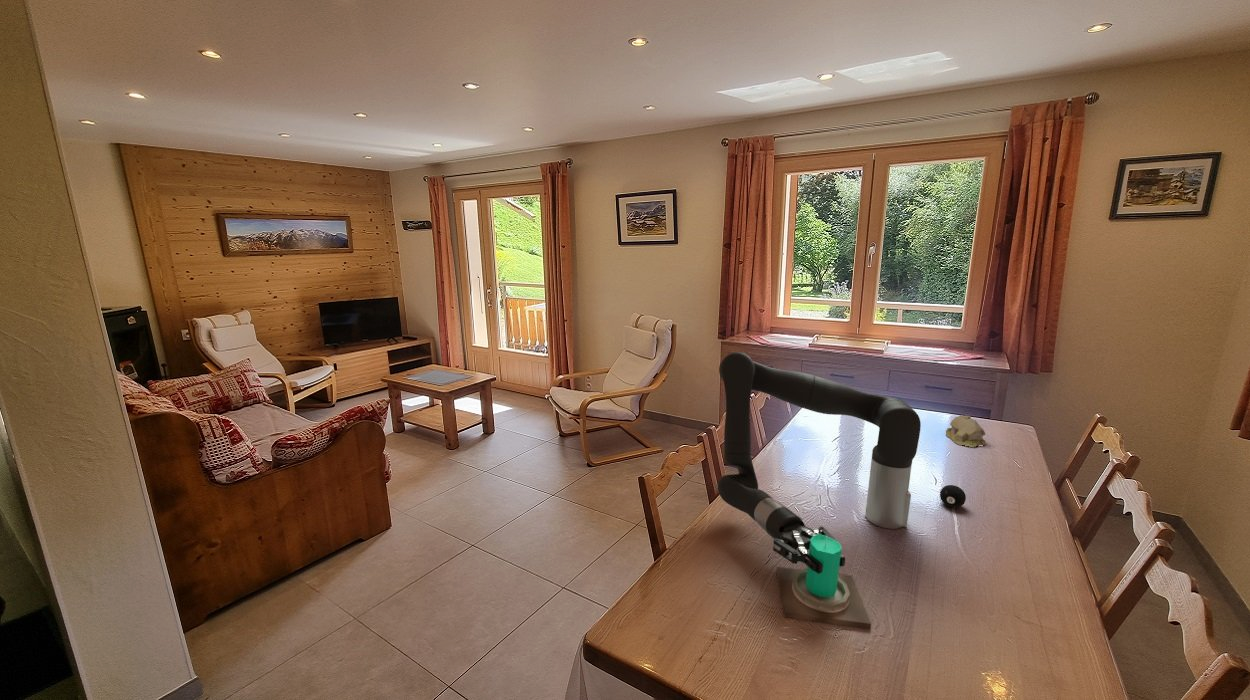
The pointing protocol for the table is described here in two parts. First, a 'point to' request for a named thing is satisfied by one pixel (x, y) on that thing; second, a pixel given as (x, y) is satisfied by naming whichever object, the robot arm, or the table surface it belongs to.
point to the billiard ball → (952, 496)
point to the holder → (821, 600)
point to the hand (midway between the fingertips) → (832, 565)
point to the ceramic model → (966, 431)
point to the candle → (824, 566)
